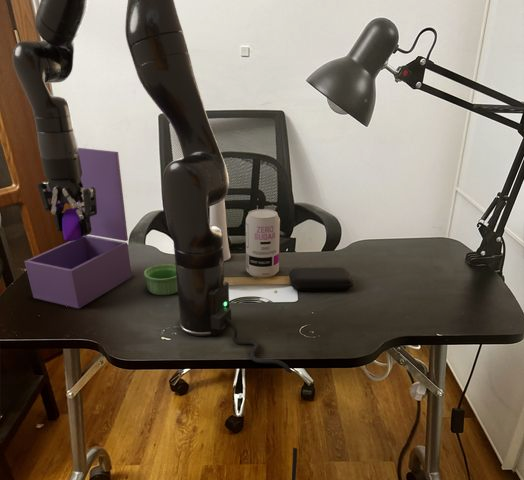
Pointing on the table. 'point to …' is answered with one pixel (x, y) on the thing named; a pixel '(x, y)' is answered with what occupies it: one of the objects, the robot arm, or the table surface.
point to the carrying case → (320, 279)
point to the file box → (79, 270)
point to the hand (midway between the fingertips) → (74, 232)
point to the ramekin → (161, 279)
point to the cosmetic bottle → (220, 225)
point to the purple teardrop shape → (71, 225)
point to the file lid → (104, 192)
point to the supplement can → (262, 243)
